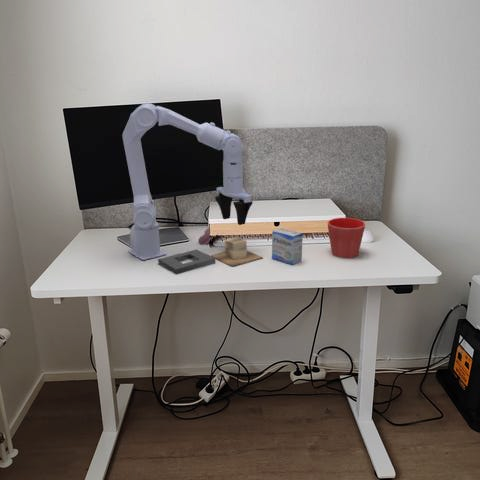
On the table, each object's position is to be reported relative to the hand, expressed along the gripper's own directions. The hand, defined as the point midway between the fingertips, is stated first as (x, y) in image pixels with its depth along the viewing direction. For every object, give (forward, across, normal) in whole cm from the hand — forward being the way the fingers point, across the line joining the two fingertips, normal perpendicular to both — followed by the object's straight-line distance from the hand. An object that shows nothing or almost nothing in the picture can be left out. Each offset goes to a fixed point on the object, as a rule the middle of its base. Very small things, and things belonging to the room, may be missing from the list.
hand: (233, 221), depth 153 cm
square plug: (+9, -5, +3) cm, 11 cm away
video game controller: (+10, +14, 0) cm, 17 cm away
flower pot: (+10, -23, -24) cm, 35 cm away
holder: (+9, 0, +17) cm, 19 cm away
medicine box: (+10, -16, -7) cm, 20 cm away
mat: (+9, -5, +3) cm, 11 cm away
